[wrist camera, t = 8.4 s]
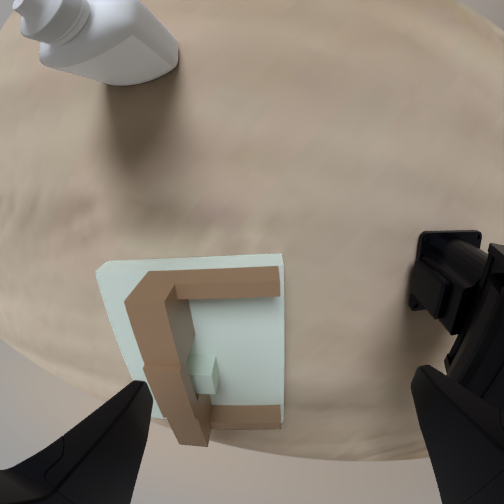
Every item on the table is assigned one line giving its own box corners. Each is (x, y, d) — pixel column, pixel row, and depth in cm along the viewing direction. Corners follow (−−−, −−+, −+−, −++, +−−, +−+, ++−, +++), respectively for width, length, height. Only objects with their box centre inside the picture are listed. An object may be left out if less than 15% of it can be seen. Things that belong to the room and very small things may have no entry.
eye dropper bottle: (160, 102, 16) (31, 62, 5) (97, 81, 15) (-35, 54, 4) (191, 45, 14) (105, -56, 3) (124, 28, 14) (15, -38, 3)
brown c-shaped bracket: (278, 265, 17) (282, 302, 13) (280, 411, 22) (282, 451, 18) (148, 270, 18) (120, 305, 14) (188, 409, 23) (178, 447, 19)
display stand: (281, 253, 19) (286, 281, 15) (282, 407, 25) (284, 441, 21) (107, 261, 20) (79, 285, 16) (155, 403, 26) (144, 433, 22)
